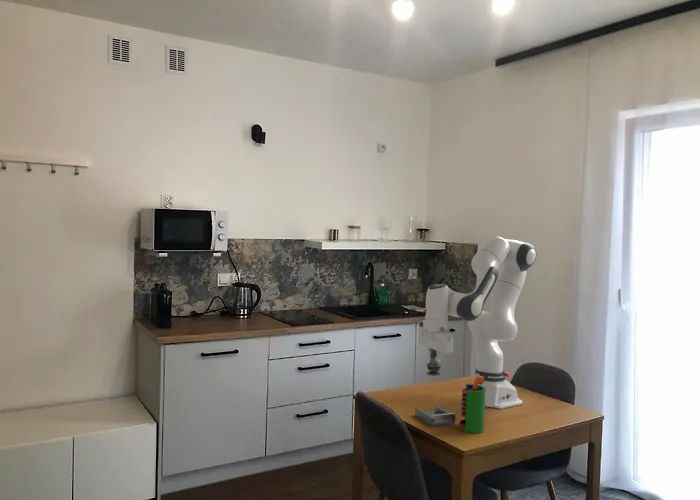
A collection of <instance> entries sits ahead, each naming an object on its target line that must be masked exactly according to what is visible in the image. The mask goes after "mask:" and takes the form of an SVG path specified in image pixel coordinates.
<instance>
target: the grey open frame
mask: <svg viewBox="0 0 700 500" xmlns="http://www.w3.org/2000/svg"><path fill="white" fill-rule="evenodd" d="M414 411H415V412H414V413H415V414H414V416H415V417H417V418H418V419H420V420H422V421H423V422H425V423H426V424H428V425H429V426H431V427H438V426H439V427H440V426H448V425H449V426H450V425H455V424H456V413H455V412H449V411H447V410H445V409H443V408H442V407H440V406H438V405H435V406H434V410H430V411H424V410H422V409H420V408H418V407H415V409H414Z"/></svg>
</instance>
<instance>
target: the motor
mask: <svg viewBox="0 0 700 500" xmlns="http://www.w3.org/2000/svg"><path fill="white" fill-rule="evenodd" d="M478 383H484V377H482V376H477V377H476V378H475V377H474V382H473V383H465V388H462V389H461V393H462V394H461V403H460V404H461V408H460V409H461V412H460V416H462V417H463V418H464V419H461V420H460V421H459V429H460V430H461V431H463V432H465V433H466V434H480V433H483V432H484V430H485V410H486V409H485V408H486V406H485V390H486V389H485V387H483V386H480V385H478Z"/></svg>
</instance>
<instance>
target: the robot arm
mask: <svg viewBox="0 0 700 500" xmlns="http://www.w3.org/2000/svg"><path fill="white" fill-rule="evenodd" d="M536 259H537V251H536V248H535V246H534V245H532V244H530V243H528V242H523V241H520V240H515V239H506V238H504V237H500V236H492V237H491V238H490V239H488V241H487V242H485V243H484V244H483V245H482V246H481V247H480V249H478V250H477V252H476V253H475V254H474V256H473V258H472V260H471V269H472V272H473V273H474V274H475V275H476V276H477V277H478V278H479V279H480V280H479V281H478V283H477V284H476V286H475V288H474V290H473V291H472V292H470V293H461V292H458V291H455V290H453V289H451V288H450V287H448V285H447V284H445V283H433V284H431V285H429V286H428V287H427V291H426V297H425V310H426V311H425V312H426V313H425V315H424V319H423V320H419V321H418V322H417V324H418V332H417V335H418V337H417V338H418V341H417V342H418V343H419V344H420V345H421V346H424V347H426V351H427V354H428V359H429V360H430V357H431V356H430V355H431V349H434V350H436V351H437V352H436V353H437V356H436V357H435V361H436V362H438V363H441V361H442V356H443V355H450V354H453V352H454V341H453V340H454V339H453V335H452V332H451V331H450V329H448V325H449V324H448V323H449V319H448V318H449V317H448V316H451V317H456V318H459V319H463V320H465V321H467V326H468V328H469V330H470V332H471V333H472V335H473V339H474V342H475V347H476V368H475V370H474V379H475V378H476V377H477V376H482V377H484V383H478V385H480V386H483V387H485V389H486V390H485V407H488V408H496V409H502V410H503V409H507V408H510V407H515V406H520V405H523V402H524V401H523V400H521V399H520V398H519V397H518V391H517V389H516V387H515V386H514V385H512V384H511V383H510V382H509V381H508V380H507V378H509V377H511V372H508V371H504V370H503V368H504V352H503V350H502V349H501V347H500V346H499V343H498V342H511V341H513V340H514V339H515V338H516V336H517V335H518V332H519V328H518V327H519V326H518V324H517V322H516V319H515V309H516V306H517V302H518V300H519V298H520V295H521V291H522V289H523V287H524V284H525V281H526V277H527V271H528V270H529V268H530V267H532V266H533V265H534V263H535V261H536ZM502 265H503V266H504V267H503V268H502V270H501V272H500V274H499V269H500V268H501V267H502ZM490 294H491V295H490ZM489 296H490V300H491V302H493V307H492V311H491V312H489V311H486V310H483V308H484V305H485V303H486V301H487V300H488V298H489Z"/></svg>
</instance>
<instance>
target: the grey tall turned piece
mask: <svg viewBox="0 0 700 500" xmlns="http://www.w3.org/2000/svg"><path fill="white" fill-rule="evenodd" d="M436 352H437V351H436V350H434V349H431V355H430V356H431V357H430V359H429V360H430V361H429V363H426V367H427V370H428V371H427V372H426V375H428V376H433V377H436V376H438V377H439V376H441V373H440V372H439V371H440V370H441V368H442V364H440V362H436V361H435V357H436V356H437V353H436Z"/></svg>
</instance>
